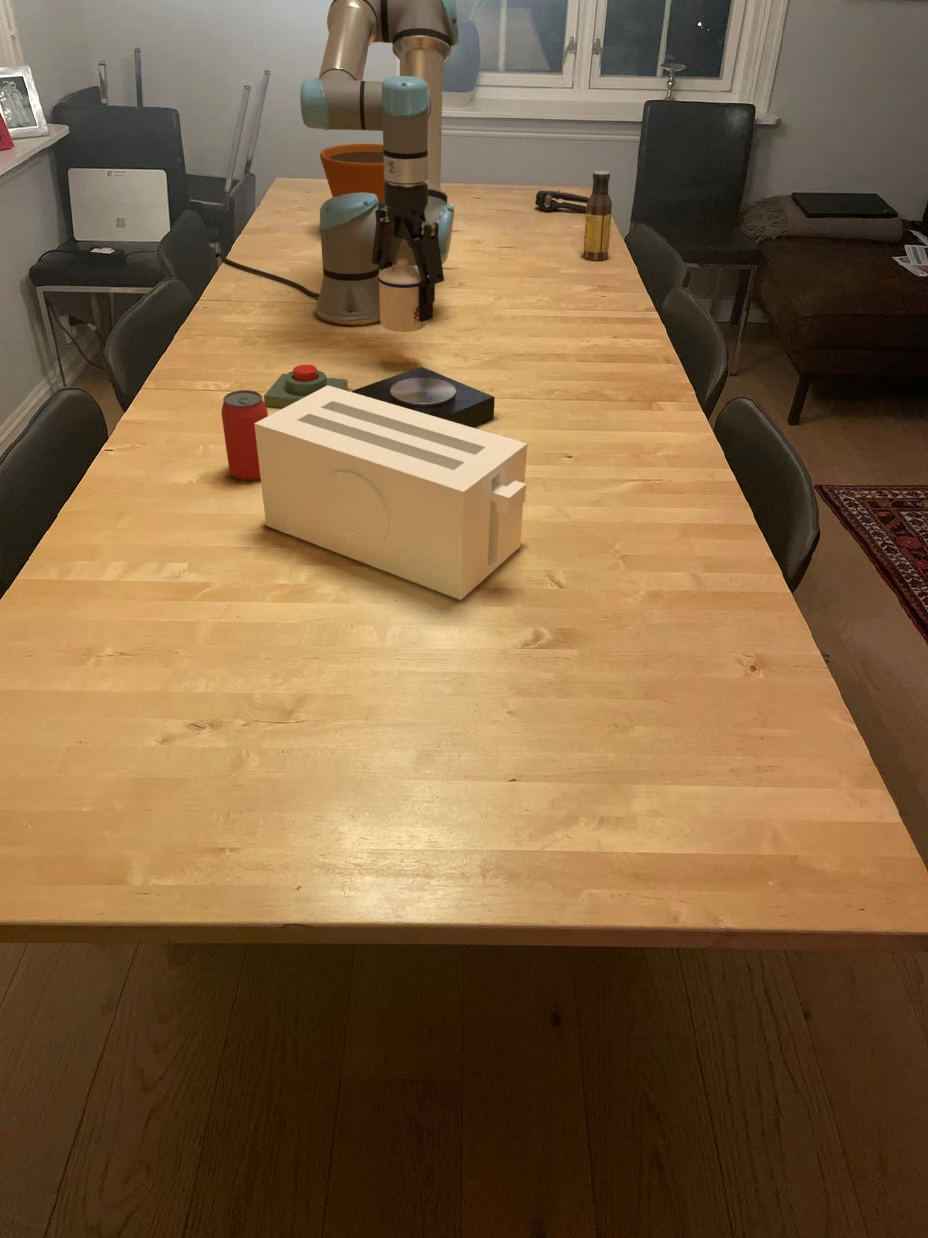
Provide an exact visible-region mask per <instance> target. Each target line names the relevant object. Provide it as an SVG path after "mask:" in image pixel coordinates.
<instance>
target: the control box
mask: <svg viewBox="0 0 928 1238" xmlns="http://www.w3.org/2000/svg"><path fill="white" fill-rule="evenodd" d="M327 385H328V386H332V387H335V388H339V389H342V390H345V391H349V384H348V379H347V378H337V377H335V378H334V377H327V375H326V373H325V372H324V371H321V370H319V369H317V379H316V380H313V381H308V382H300V381H296V380H294V373H293V370H292V371H289V372H287V373H282V374H281V375H280V376H279V377H278V378H277V379H276V380H275V382H273V384H272V385H271V386H270V388H269V389H268V390H267V391H266V393H264V395H263V401H264V403H265V406H266V408H267V407H268V408H275V409H276V408H277V409H283V408H285V407H287V406H289V405H291V404H293V403H295V402H297V401H298V400H300V399H302V398H304V397H306V396H308V395H310V394H312V393H314V392H316V391H318V390H320V389H322V388H324V387H325V386H327Z"/></svg>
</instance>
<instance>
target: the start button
mask: <svg viewBox="0 0 928 1238" xmlns="http://www.w3.org/2000/svg"><path fill="white" fill-rule="evenodd" d="M317 370H318V369H317V367H316V366H315V365H312V364H299V365H296V366H294V367H293V368H292V371H293V373H294V380H296V381H300V382H308V381H313V380H316V379H317Z"/></svg>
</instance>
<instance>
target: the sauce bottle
mask: <svg viewBox="0 0 928 1238" xmlns="http://www.w3.org/2000/svg"><path fill="white" fill-rule="evenodd" d="M610 179H611V173H610V171H607V170H595V171H593V172H592V190H591V191H592V193H591V194H590V196H589V197H588V198H589V199H588V202H587V203H586V207H587V208H586V213H585V223H584V237H583V239H584V240H583V258H585V259H586V260H589V261H603V260H605V259H607V258H608V254H609V253H608V252H609V248H610V238H611V237H610V235H611V225H612V205H613V203H612V199H611V197H610V195H609V182H610Z"/></svg>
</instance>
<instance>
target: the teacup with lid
mask: <svg viewBox="0 0 928 1238" xmlns="http://www.w3.org/2000/svg"><path fill="white" fill-rule="evenodd" d="M427 278H429V275H428V276H427ZM378 281H379V294H380V321H379V322H380V325H381V326H382V327H383V328H384V329H386V330H389V331H392V332H396V333H397V332H399V333H409V332H410V333H411V332H415V331H420V330H421V329H424V328H425V327H426V326H427V324H428V320H427V321H424V322H420V321H419V284H422V280H421V277H420V274H419V271H418V267H417V266H413V265H410V264H409V261H408V260H407V259H404V258H401V259H398V261H397V264H395V265H393V266H391V267H389V268H385V269H383V270H382V271H381V270H379V275H378Z"/></svg>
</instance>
